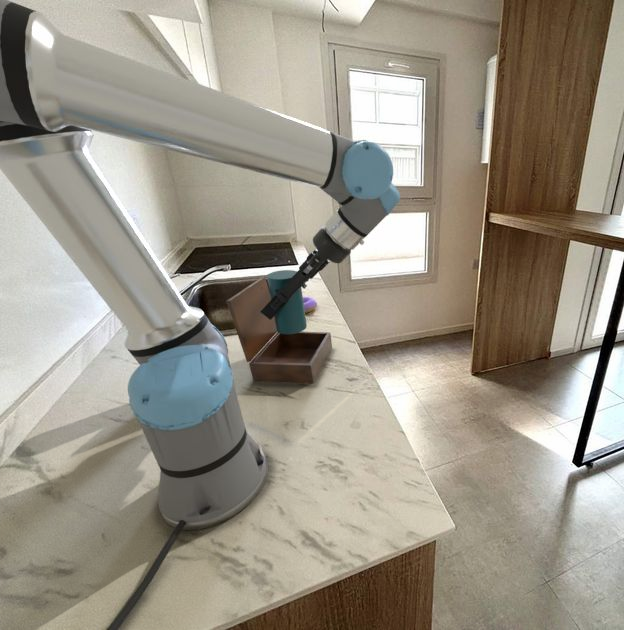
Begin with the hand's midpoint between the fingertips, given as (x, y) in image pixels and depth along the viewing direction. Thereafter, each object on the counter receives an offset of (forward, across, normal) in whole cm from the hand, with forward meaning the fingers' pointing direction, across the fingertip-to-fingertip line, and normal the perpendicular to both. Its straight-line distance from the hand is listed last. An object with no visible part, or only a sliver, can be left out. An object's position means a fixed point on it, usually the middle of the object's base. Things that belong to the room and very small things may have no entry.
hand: (273, 308), depth 75 cm
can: (+1, 0, -6) cm, 6 cm away
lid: (+8, +5, +1) cm, 9 cm away
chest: (+12, +4, -14) cm, 19 cm away
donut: (+20, +41, -7) cm, 46 cm away
